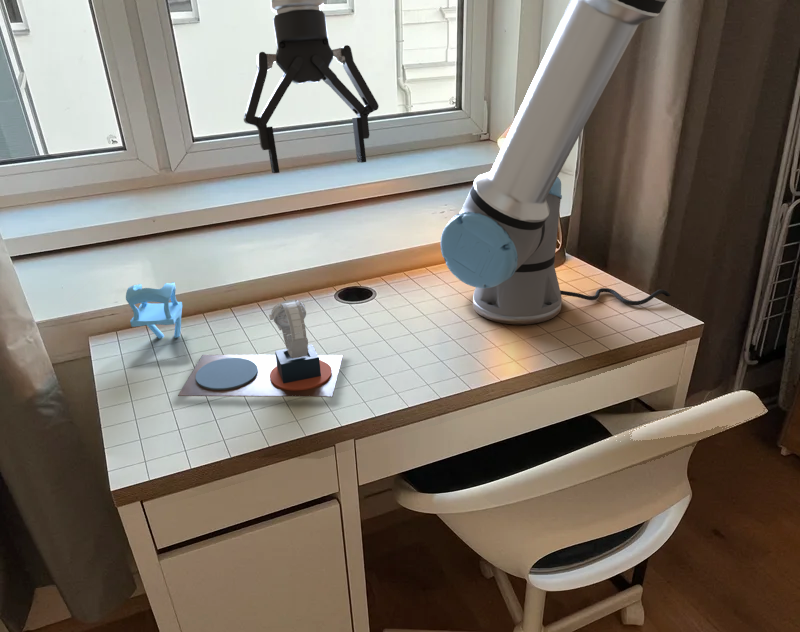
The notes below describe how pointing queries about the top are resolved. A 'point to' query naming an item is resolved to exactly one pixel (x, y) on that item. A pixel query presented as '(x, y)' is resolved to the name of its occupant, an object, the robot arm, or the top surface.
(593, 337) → the top surface
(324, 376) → the terracotta pad
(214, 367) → the slate pad
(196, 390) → the desk board
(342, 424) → the top surface
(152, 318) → the chair
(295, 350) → the watch
